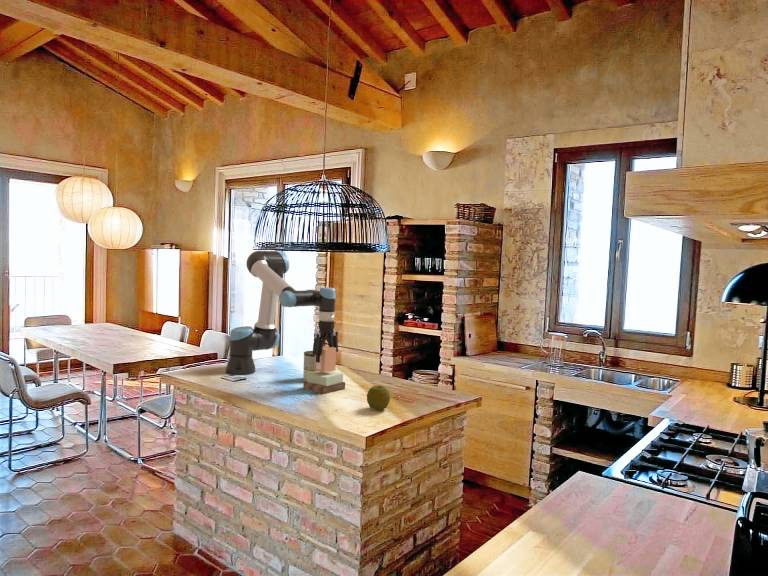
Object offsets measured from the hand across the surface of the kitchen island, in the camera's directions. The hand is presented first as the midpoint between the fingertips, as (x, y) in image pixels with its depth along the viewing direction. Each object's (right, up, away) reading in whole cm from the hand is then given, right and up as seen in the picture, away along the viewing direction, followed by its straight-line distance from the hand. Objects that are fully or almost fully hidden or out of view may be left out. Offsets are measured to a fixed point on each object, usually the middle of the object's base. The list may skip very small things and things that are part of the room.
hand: (324, 367), depth 271 cm
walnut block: (0, -11, +1) cm, 11 cm away
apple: (+26, -14, -30) cm, 42 cm away
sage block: (0, -7, 0) cm, 7 cm away
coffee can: (-8, -9, +18) cm, 21 cm away
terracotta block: (0, -1, 0) cm, 1 cm away
